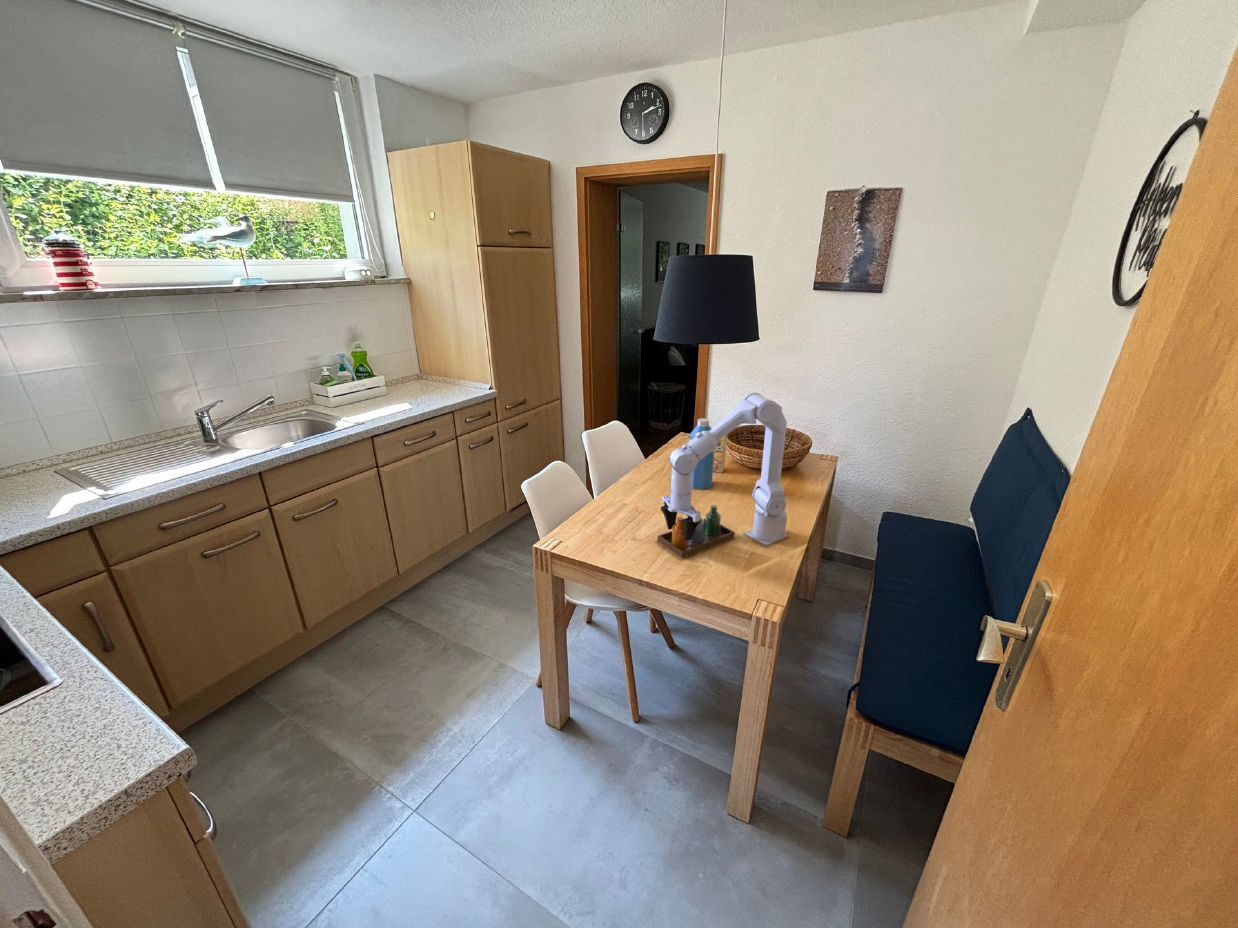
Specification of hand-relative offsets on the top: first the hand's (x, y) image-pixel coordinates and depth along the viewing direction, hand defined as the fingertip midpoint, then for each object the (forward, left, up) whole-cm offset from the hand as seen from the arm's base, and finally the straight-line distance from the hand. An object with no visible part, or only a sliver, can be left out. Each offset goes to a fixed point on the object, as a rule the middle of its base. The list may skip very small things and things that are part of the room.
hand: (679, 533), depth 143 cm
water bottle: (-35, -30, -5) cm, 46 cm away
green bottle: (-13, 0, -4) cm, 13 cm away
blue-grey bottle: (-6, 0, -4) cm, 8 cm away
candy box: (-49, -38, -5) cm, 62 cm away
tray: (-6, 0, -4) cm, 8 cm away
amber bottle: (0, 0, -4) cm, 4 cm away
